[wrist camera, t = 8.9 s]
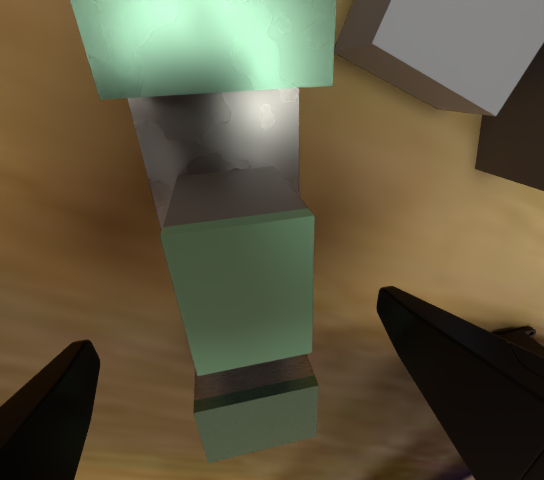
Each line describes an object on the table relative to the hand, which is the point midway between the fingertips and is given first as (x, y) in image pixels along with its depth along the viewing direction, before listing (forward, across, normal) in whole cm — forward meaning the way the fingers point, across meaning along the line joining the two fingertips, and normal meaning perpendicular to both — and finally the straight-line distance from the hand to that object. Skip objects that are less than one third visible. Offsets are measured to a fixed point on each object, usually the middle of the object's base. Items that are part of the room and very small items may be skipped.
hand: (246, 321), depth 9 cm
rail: (+9, 0, 0) cm, 9 cm away
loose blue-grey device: (+9, -10, -8) cm, 16 cm away
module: (+7, 0, 0) cm, 7 cm away
